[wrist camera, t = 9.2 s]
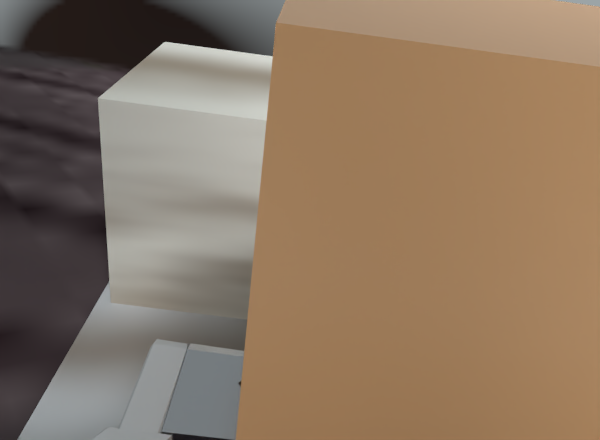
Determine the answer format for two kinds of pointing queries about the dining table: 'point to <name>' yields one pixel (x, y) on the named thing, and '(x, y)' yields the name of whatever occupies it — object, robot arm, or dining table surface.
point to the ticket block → (167, 226)
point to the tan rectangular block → (428, 224)
